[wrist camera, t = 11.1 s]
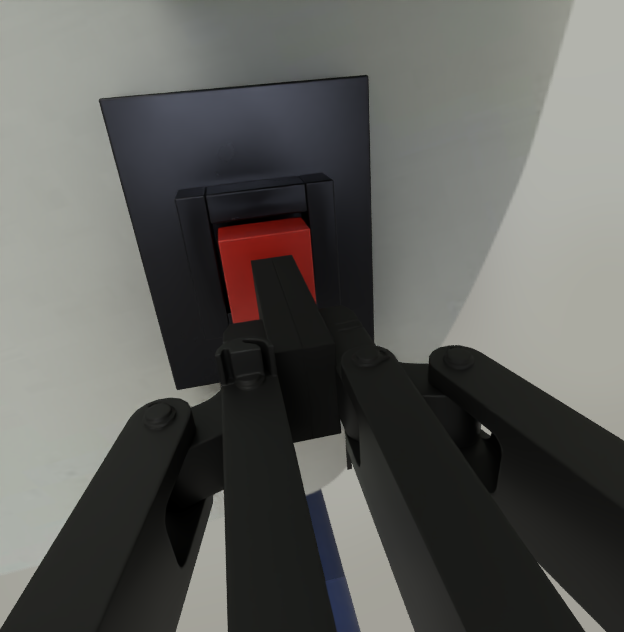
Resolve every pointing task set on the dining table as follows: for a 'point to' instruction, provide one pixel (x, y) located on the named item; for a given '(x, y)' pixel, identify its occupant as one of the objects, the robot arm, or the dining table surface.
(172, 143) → the switch base
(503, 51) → the dining table surface
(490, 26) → the dining table surface
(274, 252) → the button
